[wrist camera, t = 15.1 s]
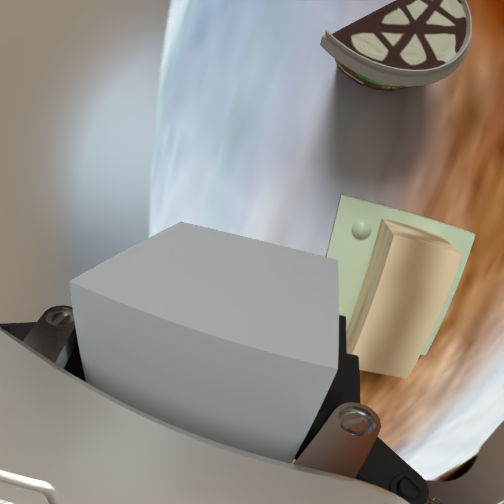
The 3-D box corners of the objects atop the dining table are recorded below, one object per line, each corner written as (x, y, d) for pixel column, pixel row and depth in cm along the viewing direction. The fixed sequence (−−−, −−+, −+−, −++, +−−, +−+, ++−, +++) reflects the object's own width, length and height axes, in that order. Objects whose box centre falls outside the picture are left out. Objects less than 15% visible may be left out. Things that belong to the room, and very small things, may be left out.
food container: (363, 127, 25) (379, 114, 16) (323, 73, 24) (318, 34, 15) (460, 71, 20) (508, 44, 11) (422, 20, 20) (453, -27, 10)
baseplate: (471, 232, 25) (475, 235, 24) (423, 350, 30) (425, 356, 29) (341, 194, 27) (341, 195, 26) (306, 324, 32) (305, 330, 31)
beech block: (439, 234, 25) (462, 254, 19) (398, 342, 29) (407, 378, 24) (381, 217, 26) (393, 234, 20) (346, 330, 30) (346, 367, 25)
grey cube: (338, 259, 11) (338, 369, 5) (297, 384, 13) (269, 499, 7) (180, 221, 12) (69, 280, 6) (172, 345, 14) (100, 433, 8)
